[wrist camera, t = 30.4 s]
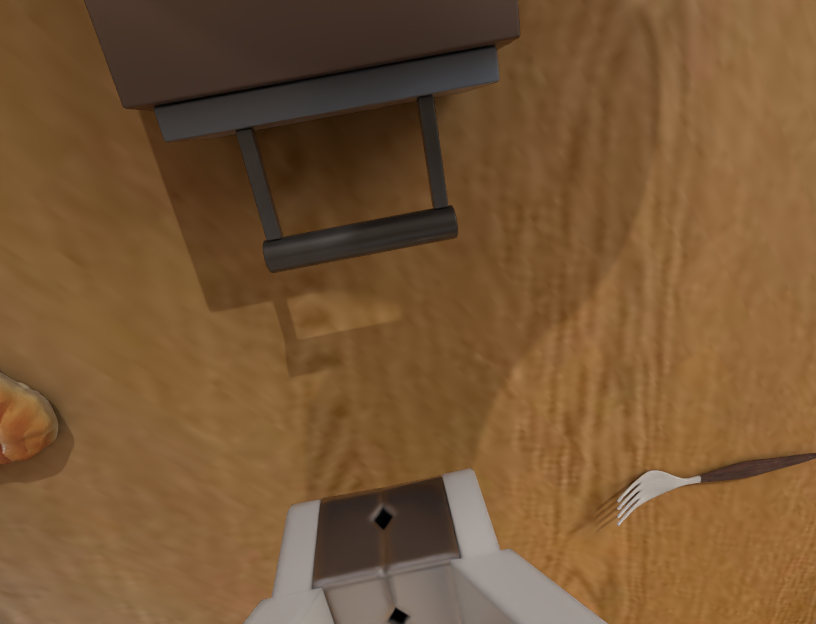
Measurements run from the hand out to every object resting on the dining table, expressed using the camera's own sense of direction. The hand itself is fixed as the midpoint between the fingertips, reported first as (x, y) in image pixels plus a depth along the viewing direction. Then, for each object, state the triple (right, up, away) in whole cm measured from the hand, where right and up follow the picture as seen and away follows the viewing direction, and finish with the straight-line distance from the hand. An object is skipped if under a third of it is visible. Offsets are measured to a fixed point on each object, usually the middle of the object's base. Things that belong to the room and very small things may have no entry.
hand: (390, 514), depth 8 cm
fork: (+22, -8, +27) cm, 36 cm away
